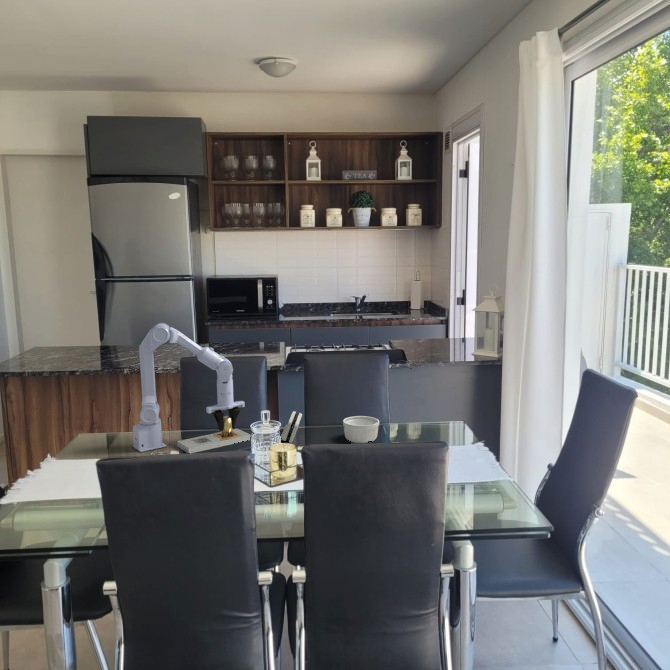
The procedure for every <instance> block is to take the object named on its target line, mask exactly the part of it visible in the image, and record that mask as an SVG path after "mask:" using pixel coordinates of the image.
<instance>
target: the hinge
mask: <svg viewBox="0 0 670 670" xmlns="http://www.w3.org/2000/svg"><path fill="white" fill-rule="evenodd" d="M302 417H303V414H302V413H301V412H299V413H298V412H297V411H294V410H293V411H292V413H291V415H290V418H289V420H288V422H287V424H286V425H284V428H283V431H282V433H281V435H280V437H281V438H282V439H281V441H284V442H285V441H288V442H289V443H293V441H294V439H295V436H296V433H297V431H298V428H299V425H300V423H301V419H302Z"/></svg>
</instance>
